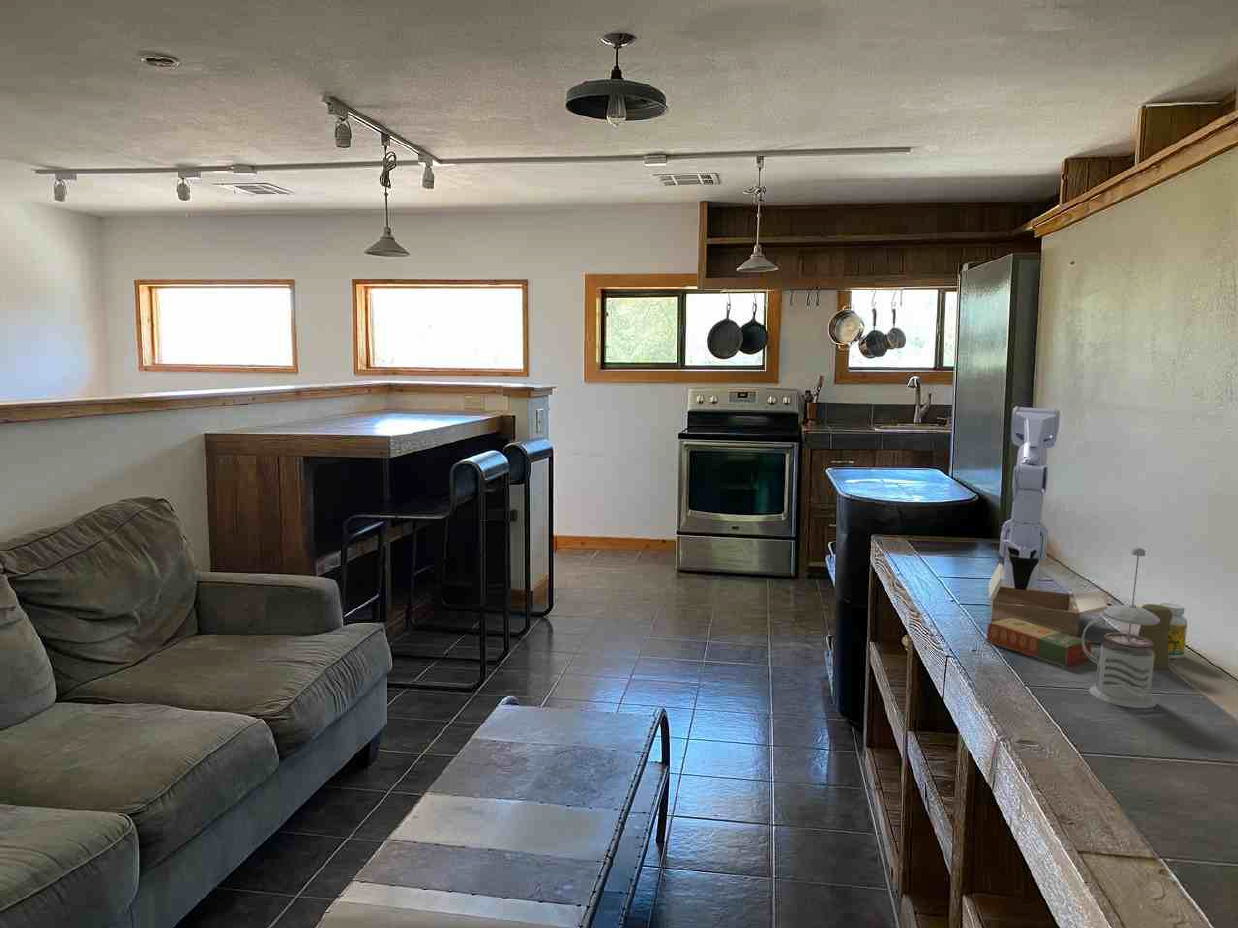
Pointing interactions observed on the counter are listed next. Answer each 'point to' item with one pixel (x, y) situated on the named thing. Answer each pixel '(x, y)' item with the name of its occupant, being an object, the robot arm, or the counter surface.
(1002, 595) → the kraft box
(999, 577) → the flap
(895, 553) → the counter surface
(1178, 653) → the supplement bottle
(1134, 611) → the french press
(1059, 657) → the carton
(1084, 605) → the flap
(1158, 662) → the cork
